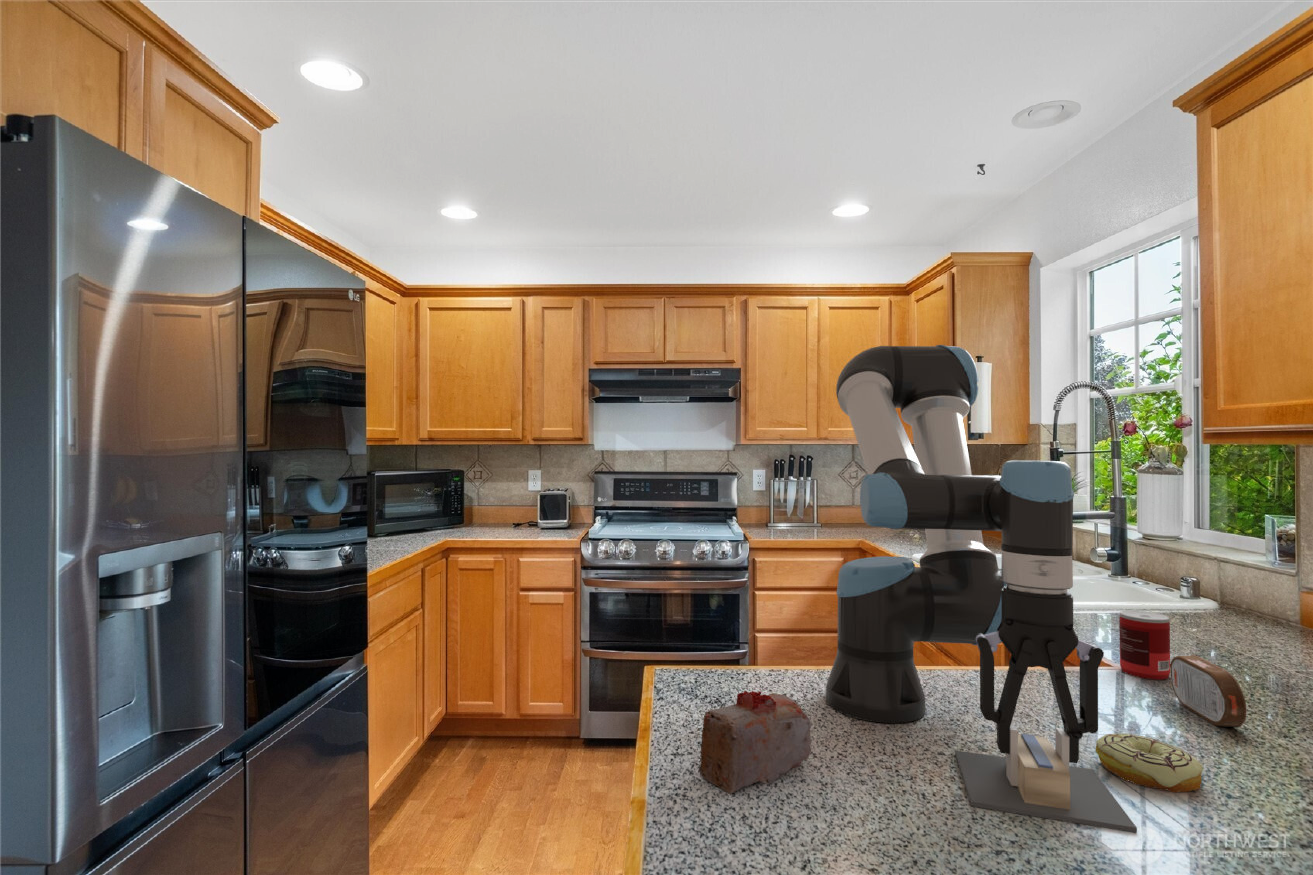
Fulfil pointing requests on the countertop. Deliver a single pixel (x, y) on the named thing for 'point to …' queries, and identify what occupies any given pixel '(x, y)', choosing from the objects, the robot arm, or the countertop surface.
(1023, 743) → the card box
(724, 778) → the food item
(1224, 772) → the countertop surface
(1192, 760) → the decorated donut
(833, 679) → the robot arm
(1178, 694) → the tin
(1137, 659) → the canned food
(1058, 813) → the mat
